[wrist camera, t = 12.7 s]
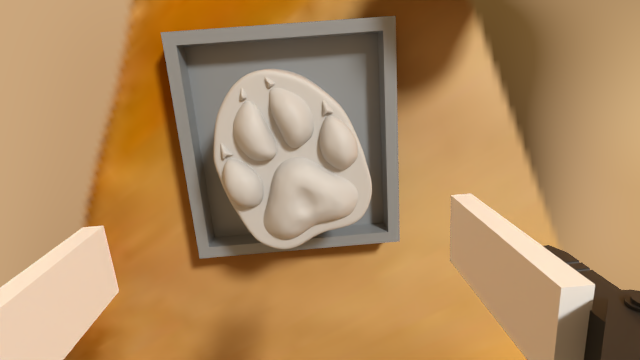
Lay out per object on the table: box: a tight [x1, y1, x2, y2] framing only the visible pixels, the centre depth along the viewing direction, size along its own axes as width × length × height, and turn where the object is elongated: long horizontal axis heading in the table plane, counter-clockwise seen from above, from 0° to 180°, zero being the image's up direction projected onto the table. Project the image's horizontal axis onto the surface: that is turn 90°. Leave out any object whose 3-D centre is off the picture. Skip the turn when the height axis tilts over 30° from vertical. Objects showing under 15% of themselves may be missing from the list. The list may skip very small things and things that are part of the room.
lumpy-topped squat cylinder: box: [214, 69, 372, 249], centre depth 31 cm, size 10×13×9 cm
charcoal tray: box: [161, 16, 400, 259], centre depth 34 cm, size 19×18×3 cm
